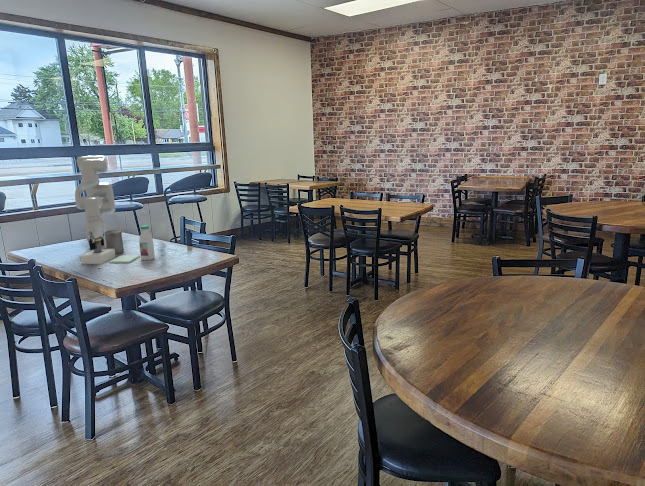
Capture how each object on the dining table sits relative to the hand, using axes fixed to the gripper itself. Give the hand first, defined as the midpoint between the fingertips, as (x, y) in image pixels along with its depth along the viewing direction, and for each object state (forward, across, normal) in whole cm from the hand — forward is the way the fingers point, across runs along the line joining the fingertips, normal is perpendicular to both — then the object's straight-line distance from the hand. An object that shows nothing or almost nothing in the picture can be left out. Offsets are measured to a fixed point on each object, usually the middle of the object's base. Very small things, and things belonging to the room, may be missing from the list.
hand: (97, 247), depth 268 cm
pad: (+8, 0, +16) cm, 18 cm away
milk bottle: (+8, -2, +29) cm, 30 cm away
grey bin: (+8, -18, +1) cm, 20 cm away
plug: (+8, 0, 0) cm, 8 cm away
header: (+8, 0, 0) cm, 8 cm away
